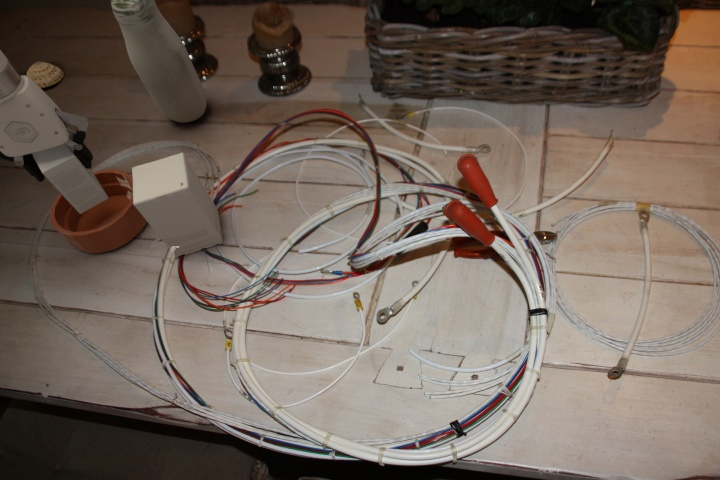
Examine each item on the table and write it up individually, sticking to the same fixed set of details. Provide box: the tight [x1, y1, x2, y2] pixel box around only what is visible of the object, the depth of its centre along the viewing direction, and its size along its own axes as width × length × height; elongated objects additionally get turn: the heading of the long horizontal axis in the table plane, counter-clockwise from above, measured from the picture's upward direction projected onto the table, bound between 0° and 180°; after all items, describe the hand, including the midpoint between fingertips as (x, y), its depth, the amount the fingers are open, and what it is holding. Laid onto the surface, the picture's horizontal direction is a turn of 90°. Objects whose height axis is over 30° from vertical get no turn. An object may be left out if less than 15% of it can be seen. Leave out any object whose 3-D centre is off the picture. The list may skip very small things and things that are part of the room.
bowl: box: [49, 168, 148, 254], centre depth 101 cm, size 16×16×6 cm
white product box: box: [131, 152, 224, 257], centre depth 93 cm, size 9×9×15 cm
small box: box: [31, 144, 109, 214], centre depth 92 cm, size 8×6×10 cm
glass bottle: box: [110, 0, 208, 123], centre depth 107 cm, size 10×10×28 cm
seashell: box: [25, 60, 65, 89], centre depth 131 cm, size 8×6×8 cm
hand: (65, 169), depth 91 cm, fingers closed on small box, 7 cm apart
